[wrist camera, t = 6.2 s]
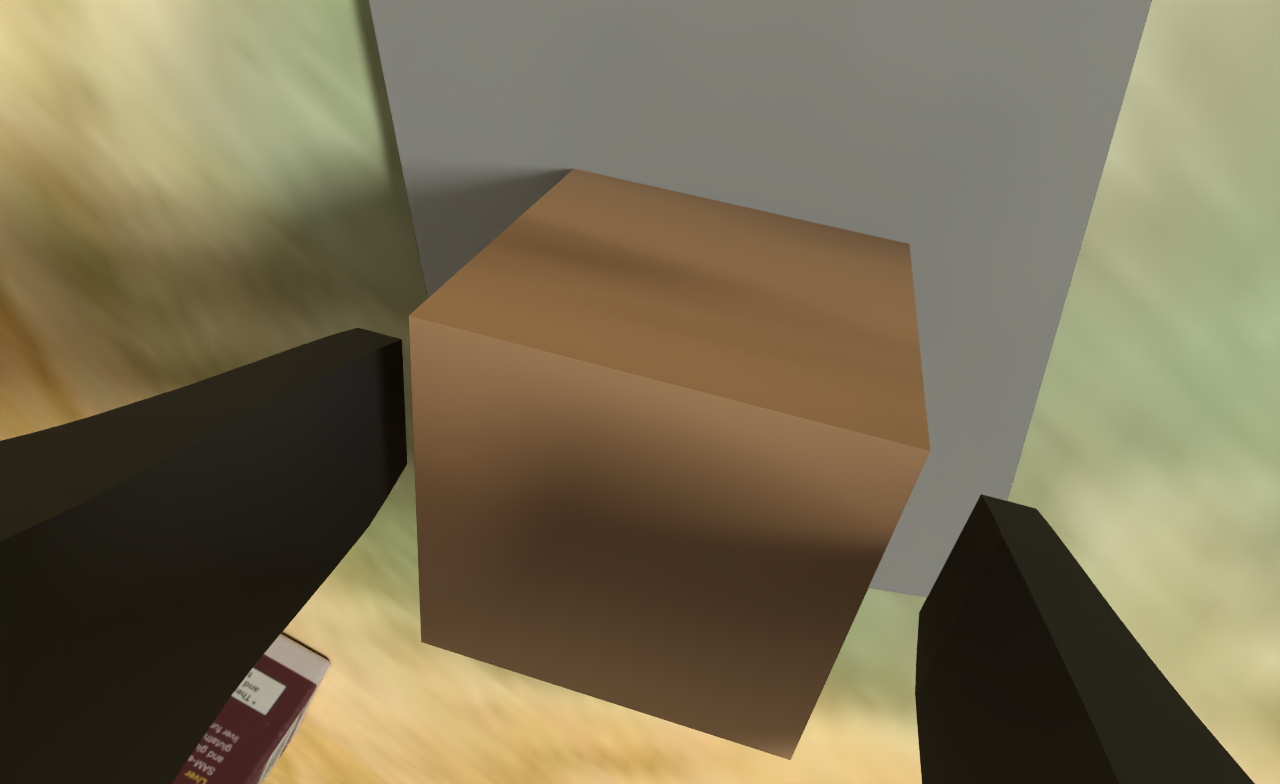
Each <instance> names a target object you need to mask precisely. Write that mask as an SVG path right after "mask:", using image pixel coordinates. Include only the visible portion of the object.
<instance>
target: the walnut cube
mask: <svg viewBox="0 0 1280 784" xmlns="http://www.w3.org/2000/svg"><path fill="white" fill-rule="evenodd" d="M409 337H410V362H411V388H412V413H413V439H414V464H415V490H416V515H417V541H418V566H419V592H420V617H421V642H423V643H426V644H429V645H432V646H436V647H439V648H442V649H445V650H448V651H451V652H454V653H457V654H461V655H464V656H467V657H470V658H473V659H476V660H479V661H482V662H486V663H489V664H492V665H495V666H498V667H501V668H504V669H507V670H511V671H514V672H517V673H520V674H523V675H526V676H529V677H533V678H536V679H539V680H542V681H545V682H548V683H551V684H554V685H558V686H561V687H564V688H567V689H570V690H573V691H576V692H579V693H583V694H586V695H589V696H592V697H595V698H598V699H601V700H604V701H608V702H611V703H614V704H617V705H620V706H623V707H626V708H629V709H633V710H636V711H639V712H642V713H645V714H648V715H651V716H654V717H658V718H661V719H664V720H667V721H670V722H673V723H676V724H679V725H683V726H686V727H689V728H692V729H695V730H698V731H701V732H704V733H708V734H711V735H714V736H717V737H720V738H723V739H726V740H729V741H733V742H736V743H739V744H742V745H745V746H748V747H751V748H754V749H758V750H761V751H764V752H767V753H770V754H773V755H776V756H779V757H783V758H786V759H789V760H791V758H792V755H793V753H794V751H795V749H796V746H797V744H798V742H799V740H800V738H801V735H802V733H803V731H804V729H805V727H806V724H807V722H808V720H809V718H810V716H811V713H812V711H813V709H814V707H815V705H816V702H817V700H818V698H819V696H820V694H821V691H822V689H823V687H824V685H825V682H826V680H827V678H828V676H829V674H830V671H831V669H832V667H833V665H834V663H835V660H836V658H837V656H838V654H839V652H840V649H841V647H842V645H843V643H844V641H845V638H846V636H847V634H848V632H849V630H850V627H851V625H852V623H853V621H854V618H855V616H856V614H857V612H858V610H859V607H860V605H861V603H862V601H863V599H864V596H865V594H866V592H867V590H868V588H869V585H870V583H871V581H872V579H873V577H874V574H875V572H876V570H877V568H878V566H879V563H880V561H881V559H882V557H883V554H884V552H885V550H886V548H887V546H888V543H889V541H890V539H891V537H892V535H893V532H894V530H895V528H896V526H897V524H898V521H899V519H900V517H901V515H902V513H903V510H904V508H905V506H906V504H907V502H908V499H909V497H910V495H911V493H912V490H913V488H914V486H915V484H916V482H917V479H918V477H919V475H920V473H921V471H922V468H923V466H924V464H925V462H926V460H927V457H928V455H929V453H930V443H929V433H928V423H927V413H926V403H925V393H924V383H923V373H922V364H921V354H920V344H919V334H918V324H917V314H916V304H915V294H914V284H913V275H912V265H911V255H910V245H909V244H908V243H903V242H899V241H894V240H890V239H886V238H881V237H877V236H872V235H868V234H863V233H859V232H854V231H850V230H846V229H841V228H837V227H832V226H828V225H823V224H819V223H814V222H810V221H805V220H801V219H797V218H792V217H788V216H783V215H779V214H774V213H770V212H765V211H761V210H757V209H752V208H748V207H743V206H739V205H734V204H730V203H725V202H721V201H717V200H712V199H708V198H703V197H699V196H694V195H690V194H685V193H681V192H676V191H672V190H668V189H663V188H659V187H654V186H650V185H645V184H641V183H636V182H632V181H628V180H623V179H619V178H614V177H610V176H605V175H601V174H596V173H592V172H588V171H583V170H579V169H573V170H572V171H571V172H569V173H568V174H567V175H566V176H565V177H564V178H563V179H562V180H560V181H559V182H558V183H557V184H556V185H555V186H554V187H553V188H552V189H550V190H549V191H548V192H547V193H546V194H545V195H544V196H543V197H541V198H540V199H539V200H538V201H537V202H536V203H535V204H534V205H532V206H531V207H530V208H529V209H528V210H527V211H526V212H525V213H523V214H522V215H521V216H520V217H519V218H518V219H517V220H516V221H514V222H513V223H512V224H511V225H510V226H509V227H508V228H507V229H505V230H504V231H503V232H502V233H501V234H500V235H499V236H498V237H497V238H495V239H494V240H493V241H492V242H491V243H490V244H489V245H488V246H486V247H485V248H484V249H483V250H482V251H481V252H480V253H479V254H477V255H476V256H475V257H474V258H473V259H472V260H471V261H470V262H468V263H467V264H466V265H465V266H464V267H463V268H462V269H461V270H459V271H458V272H457V273H456V274H455V275H454V276H453V277H452V278H451V279H449V280H448V281H447V282H446V283H445V284H444V285H443V286H442V287H440V288H439V289H438V290H437V291H436V292H435V293H434V294H433V295H431V296H430V297H429V298H428V299H427V300H426V301H425V302H424V303H422V304H421V305H420V306H419V307H418V308H417V309H416V310H415V311H413V312H412V313H411V314H410V315H409Z"/></svg>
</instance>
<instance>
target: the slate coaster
mask: <svg viewBox="0 0 1280 784" xmlns="http://www.w3.org/2000/svg"><path fill="white" fill-rule="evenodd" d="M1151 2H1152V0H369V4H370V9H371V14H372V19H373V24H374V29H375V34H376V39H377V44H378V50H379V55H380V60H381V65H382V70H383V75H384V80H385V85H386V90H387V95H388V100H389V105H390V110H391V115H392V120H393V125H394V131H395V136H396V141H397V146H398V151H399V156H400V161H401V166H402V171H403V176H404V181H405V186H406V191H407V196H408V201H409V206H410V211H411V217H412V222H413V227H414V232H415V237H416V242H417V247H418V252H419V257H420V262H421V267H422V272H423V277H424V282H425V287H426V292H427V298H429V297H430V296H431V295H433V294H434V293H435V292H436V291H437V290H438V289H439V288H440V287H442V286H443V285H444V284H445V283H446V282H447V281H448V280H449V279H451V278H452V277H453V276H454V275H455V274H456V273H457V272H458V271H459V270H461V269H462V268H463V267H464V266H465V265H466V264H467V263H468V262H470V261H471V260H472V259H473V258H474V257H475V256H476V255H477V254H479V253H480V252H481V251H482V250H483V249H484V248H485V247H486V246H488V245H489V244H490V243H491V242H492V241H493V240H494V239H495V238H497V237H498V236H499V235H500V234H501V233H502V232H503V231H504V230H505V229H507V228H508V227H509V226H510V225H511V224H512V223H513V222H514V221H516V220H517V219H518V218H519V217H520V216H521V215H522V214H523V213H525V212H526V211H527V210H528V209H529V208H530V207H531V206H532V205H534V204H535V203H536V202H537V201H538V200H539V199H540V198H541V197H543V196H544V195H545V194H546V193H547V192H548V191H549V190H550V189H552V188H553V187H554V186H555V185H556V184H557V183H558V182H559V181H560V180H562V179H563V178H564V177H565V176H566V175H567V174H568V173H569V172H571V171H572V170H573V169H579V170H583V171H588V172H592V173H596V174H601V175H605V176H610V177H614V178H619V179H623V180H628V181H632V182H636V183H641V184H645V185H650V186H654V187H659V188H663V189H668V190H672V191H676V192H681V193H685V194H690V195H694V196H699V197H703V198H708V199H712V200H717V201H721V202H725V203H730V204H734V205H739V206H743V207H748V208H752V209H757V210H761V211H765V212H770V213H774V214H779V215H783V216H788V217H792V218H797V219H801V220H805V221H810V222H814V223H819V224H823V225H828V226H832V227H837V228H841V229H846V230H850V231H854V232H859V233H863V234H868V235H872V236H877V237H881V238H886V239H890V240H894V241H899V242H903V243H908V244H909V245H910V255H911V265H912V275H913V284H914V294H915V304H916V314H917V324H918V334H919V344H920V354H921V364H922V373H923V383H924V393H925V403H926V413H927V423H928V433H929V443H930V453H929V455H928V457H927V460H926V462H925V464H924V466H923V468H922V471H921V473H920V475H919V477H918V479H917V482H916V484H915V486H914V488H913V490H912V493H911V495H910V497H909V499H908V502H907V504H906V506H905V508H904V510H903V513H902V515H901V517H900V519H899V521H898V524H897V526H896V528H895V530H894V532H893V535H892V537H891V539H890V541H889V543H888V546H887V548H886V550H885V552H884V554H883V557H882V559H881V561H880V563H879V566H878V568H877V570H876V572H875V574H874V577H873V579H872V581H871V583H870V585H869V588H872V589H878V590H885V591H891V592H897V593H904V594H910V595H916V596H922V597H928V595H929V593H930V591H931V589H932V587H933V585H934V583H935V582H936V580H937V578H938V576H939V574H940V572H941V570H942V568H943V566H944V564H945V562H946V560H947V559H948V557H949V555H950V553H951V551H952V549H953V547H954V545H955V543H956V541H957V539H958V537H959V535H960V534H961V532H962V530H963V528H964V526H965V524H966V522H967V520H968V518H969V516H970V514H971V512H972V510H973V509H974V507H975V505H976V503H977V501H978V499H979V497H980V495H981V494H983V495H986V496H990V497H994V498H998V499H1001V500H1005V501H1008V497H1009V494H1010V490H1011V487H1012V483H1013V480H1014V476H1015V473H1016V469H1017V466H1018V462H1019V459H1020V456H1021V452H1022V449H1023V445H1024V442H1025V438H1026V435H1027V431H1028V428H1029V424H1030V421H1031V417H1032V414H1033V411H1034V407H1035V404H1036V400H1037V397H1038V393H1039V390H1040V386H1041V383H1042V379H1043V376H1044V372H1045V369H1046V366H1047V362H1048V359H1049V355H1050V352H1051V348H1052V345H1053V341H1054V338H1055V334H1056V331H1057V327H1058V324H1059V320H1060V317H1061V314H1062V310H1063V307H1064V303H1065V300H1066V296H1067V293H1068V289H1069V286H1070V282H1071V279H1072V275H1073V272H1074V269H1075V265H1076V262H1077V258H1078V255H1079V251H1080V248H1081V244H1082V241H1083V237H1084V234H1085V230H1086V227H1087V224H1088V220H1089V217H1090V213H1091V210H1092V206H1093V203H1094V199H1095V196H1096V192H1097V189H1098V185H1099V182H1100V178H1101V175H1102V172H1103V168H1104V165H1105V161H1106V158H1107V154H1108V151H1109V147H1110V144H1111V140H1112V137H1113V133H1114V130H1115V127H1116V123H1117V120H1118V116H1119V113H1120V109H1121V106H1122V102H1123V99H1124V95H1125V92H1126V88H1127V85H1128V82H1129V78H1130V75H1131V71H1132V68H1133V64H1134V61H1135V57H1136V54H1137V50H1138V47H1139V43H1140V40H1141V36H1142V33H1143V30H1144V26H1145V23H1146V19H1147V16H1148V12H1149V9H1150V5H1151Z"/></svg>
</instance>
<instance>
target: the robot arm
mask: <svg viewBox="0 0 1280 784" xmlns="http://www.w3.org/2000/svg"><path fill="white" fill-rule="evenodd" d="M406 465H407V449H406V426H405V403H404V380H403V357H402V339H398V338H394V337H391V336H387V335H383V334H379V333H376V332H372V331H368V330H364V329H361V328H356V329H352V330H348V331H345V332H341V333H338V334H334V335H331V336H328V337H325V338H322V339H319V340H316V341H313V342H310V343H307V344H304V345H301V346H298V347H296V348H293V349H290V350H287V351H284V352H281V353H279V354H276V355H273V356H270V357H267V358H265V359H262V360H259V361H256V362H253V363H251V364H248V365H245V366H242V367H239V368H236V369H234V370H231V371H228V372H225V373H222V374H220V375H217V376H214V377H211V378H208V379H205V380H203V381H200V382H197V383H194V384H191V385H188V386H185V387H182V388H179V389H176V390H173V391H170V392H167V393H163V394H160V395H157V396H154V397H151V398H148V399H145V400H141V401H138V402H135V403H132V404H129V405H126V406H123V407H120V408H116V409H113V410H110V411H107V412H104V413H101V414H98V415H94V416H91V417H88V418H85V419H81V420H78V421H74V422H71V423H67V424H64V425H60V426H56V427H53V428H49V429H45V430H42V431H38V432H34V433H31V434H27V435H23V436H19V437H15V438H11V439H6V440H2V441H0V784H172V783H173V782H174V780H175V778H176V777H177V775H178V774H179V772H180V771H181V769H182V768H183V766H184V765H185V763H186V762H187V760H188V759H189V757H190V756H191V754H192V753H193V751H194V750H195V748H196V747H197V746H198V744H199V743H200V741H201V740H202V738H203V737H204V735H205V734H206V732H207V731H208V729H209V728H210V726H211V725H212V723H213V722H214V720H215V719H216V717H217V716H218V714H219V713H220V712H221V710H222V709H223V707H224V706H225V704H226V703H227V701H228V700H229V698H230V697H231V696H232V694H233V693H234V692H235V690H236V689H237V688H238V686H239V685H240V684H241V682H242V681H243V680H244V679H245V677H246V676H247V675H248V673H249V672H250V671H251V669H252V668H253V667H254V665H255V664H256V663H257V662H258V660H259V659H260V658H261V657H262V656H263V654H264V653H265V652H266V651H267V650H268V648H269V647H270V646H271V645H272V644H273V642H274V641H275V640H276V639H277V638H278V636H279V635H280V634H281V633H282V632H283V630H284V629H285V628H286V627H287V626H288V624H289V623H290V622H291V621H292V619H293V618H294V617H295V616H296V615H297V613H298V612H299V611H300V610H301V609H302V607H303V606H304V605H305V604H306V603H307V601H308V600H309V599H310V598H311V597H312V595H313V594H314V593H315V592H316V591H317V589H318V588H319V587H320V586H321V585H322V583H323V582H324V581H325V580H326V579H327V577H328V576H329V575H330V574H331V572H332V571H333V570H334V569H335V568H336V566H337V565H338V564H339V563H340V561H341V560H342V559H343V558H344V556H345V555H346V554H347V553H348V552H349V550H350V549H351V548H352V547H353V545H354V544H355V543H356V542H357V540H358V539H359V538H360V537H361V535H362V534H363V533H364V532H365V530H366V529H367V528H368V527H369V525H370V524H371V522H372V520H373V519H374V517H375V516H376V514H377V513H378V511H379V509H380V508H381V506H382V505H383V503H384V502H385V500H386V499H387V497H388V495H389V494H390V492H391V490H392V488H393V487H394V485H395V483H396V482H397V480H398V478H399V477H400V475H401V473H402V472H403V470H404V468H405V467H406ZM915 696H916V711H917V724H918V737H919V750H920V763H921V774H922V784H1255V783H1254V782H1253V781H1252V780H1251V779H1250V778H1249V777H1248V775H1247V774H1246V773H1245V772H1244V771H1243V770H1242V768H1241V767H1240V766H1239V765H1238V764H1237V763H1236V761H1235V760H1234V759H1233V758H1232V757H1231V756H1230V754H1229V753H1228V752H1227V751H1226V750H1225V748H1224V747H1223V746H1222V745H1221V744H1220V743H1219V741H1218V740H1217V739H1216V738H1215V737H1214V736H1213V734H1212V733H1211V732H1210V731H1209V730H1208V729H1207V727H1206V726H1205V725H1204V724H1203V723H1202V722H1201V720H1200V719H1199V718H1198V717H1197V716H1196V715H1195V713H1194V712H1193V711H1192V710H1191V708H1190V707H1189V706H1188V705H1187V703H1186V702H1185V701H1184V700H1183V699H1182V697H1181V696H1180V695H1179V694H1178V692H1177V691H1176V690H1175V689H1174V687H1173V686H1172V685H1171V684H1170V683H1169V681H1168V680H1167V679H1166V678H1165V676H1164V675H1163V674H1162V672H1161V671H1160V670H1159V669H1158V667H1157V666H1156V665H1155V664H1154V662H1153V661H1152V660H1151V659H1150V657H1149V656H1148V655H1147V653H1146V652H1145V651H1144V650H1143V648H1142V647H1141V646H1140V644H1139V643H1138V642H1137V640H1136V639H1135V638H1134V637H1133V635H1132V634H1131V633H1130V631H1129V630H1128V629H1127V627H1126V626H1125V625H1124V623H1123V622H1122V621H1121V620H1120V618H1119V617H1118V616H1117V614H1116V613H1115V612H1114V610H1113V609H1112V608H1111V606H1110V605H1109V604H1108V602H1107V601H1106V600H1105V598H1104V597H1103V596H1102V594H1101V593H1100V592H1099V590H1098V589H1097V588H1096V586H1095V585H1094V584H1093V582H1092V581H1091V579H1090V578H1089V577H1088V575H1087V574H1086V573H1085V571H1084V570H1083V569H1082V567H1081V566H1080V565H1079V563H1078V562H1077V561H1076V559H1075V558H1074V557H1073V555H1072V554H1071V553H1070V551H1069V550H1068V549H1067V547H1066V546H1065V545H1064V543H1063V542H1062V541H1061V539H1060V538H1059V537H1058V535H1057V534H1056V533H1055V531H1054V530H1053V529H1052V528H1051V526H1050V525H1049V524H1048V522H1047V521H1046V520H1045V519H1044V518H1043V516H1042V515H1041V514H1040V513H1039V511H1038V510H1037V509H1035V508H1031V507H1028V506H1024V505H1020V504H1016V503H1013V502H1009V501H1005V500H1001V499H998V498H994V497H990V496H986V495H983V494H981V495H980V497H979V499H978V501H977V503H976V505H975V507H974V509H973V510H972V512H971V514H970V516H969V518H968V520H967V522H966V524H965V526H964V528H963V530H962V532H961V534H960V535H959V537H958V539H957V541H956V543H955V545H954V547H953V549H952V551H951V553H950V555H949V557H948V559H947V560H946V562H945V564H944V566H943V568H942V570H941V572H940V574H939V576H938V578H937V580H936V582H935V583H934V585H933V587H932V589H931V591H930V593H929V595H928V597H927V599H926V601H925V603H924V605H923V607H922V608H921V610H920V612H919V626H918V642H917V660H916V686H915Z"/></svg>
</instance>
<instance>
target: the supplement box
mask: <svg viewBox="0 0 1280 784" xmlns="http://www.w3.org/2000/svg"><path fill="white" fill-rule="evenodd" d="M330 665H331V663H330V661H328V660H327V659H325V658H324V657H322V656H320V655H318V654H316V653H314V652H312V651H311V650H309V649H307V648H305V647H303V646H302V645H300V644H298V643H297V642H295V641H293V640H291V639H289V638H288V637H286V636H284V635H282V634H280V635H279V636H278V638H277V639H276V640H275V641H274V642H273V644H272V645H271V646H270V647H269V648H268V650H267V651H266V652H265V653H264V654H263V656H262V657H261V658H260V659H259V660H258V662H257V663H256V664H255V665H254V667H253V668H252V669H251V671H250V672H249V673H248V675H247V676H246V677H245V679H244V680H243V681H242V682H241V684H240V685H239V686H238V688H237V689H236V690H235V692H234V693H233V694H232V696H231V697H230V698H229V700H228V701H227V703H226V704H225V706H224V707H223V709H222V710H221V712H220V713H219V714H218V716H217V717H216V719H215V720H214V722H213V723H212V725H211V726H210V728H209V729H208V731H207V732H206V734H205V735H204V737H203V738H202V740H201V741H200V743H199V744H198V746H197V747H196V748H195V750H194V751H193V753H192V754H191V756H190V757H189V759H188V760H187V762H186V763H185V765H184V766H183V768H182V769H181V771H180V772H179V774H178V775H177V777H176V778H175V780H174V782H173V783H172V784H262V783H263V781H264V780H265V778H266V777H267V775H268V774H269V772H270V771H271V769H272V768H273V766H274V765H275V763H276V762H277V760H278V759H279V757H280V756H281V755H282V753H283V752H284V750H285V749H286V748H287V746H288V745H289V743H290V742H291V740H292V739H293V737H294V736H295V734H296V733H297V731H298V729H299V727H300V725H301V722H302V720H303V717H304V715H305V713H306V710H307V708H308V706H309V704H310V702H311V700H312V698H313V696H314V694H315V692H316V690H317V688H318V686H319V684H320V682H321V680H322V679H323V677H324V675H325V673H326V672H327V670H328V668H329V667H330Z"/></svg>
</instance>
